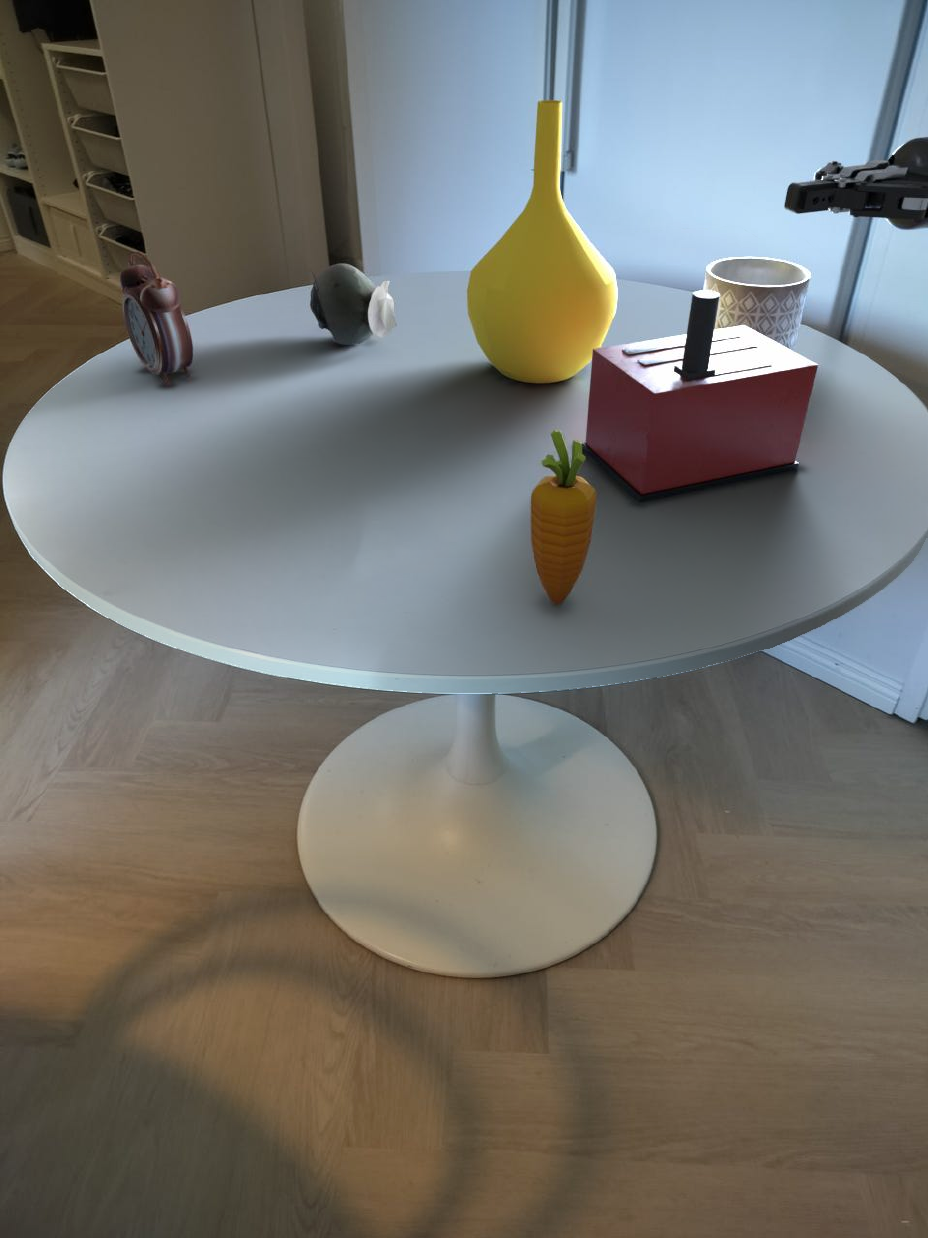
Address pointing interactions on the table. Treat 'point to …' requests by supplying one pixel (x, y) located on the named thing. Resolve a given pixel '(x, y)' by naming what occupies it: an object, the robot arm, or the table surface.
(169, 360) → the alarm clock
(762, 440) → the knife block
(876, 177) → the robot arm
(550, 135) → the vase
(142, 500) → the table surface
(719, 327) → the planter
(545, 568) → the carrot
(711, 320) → the slider
